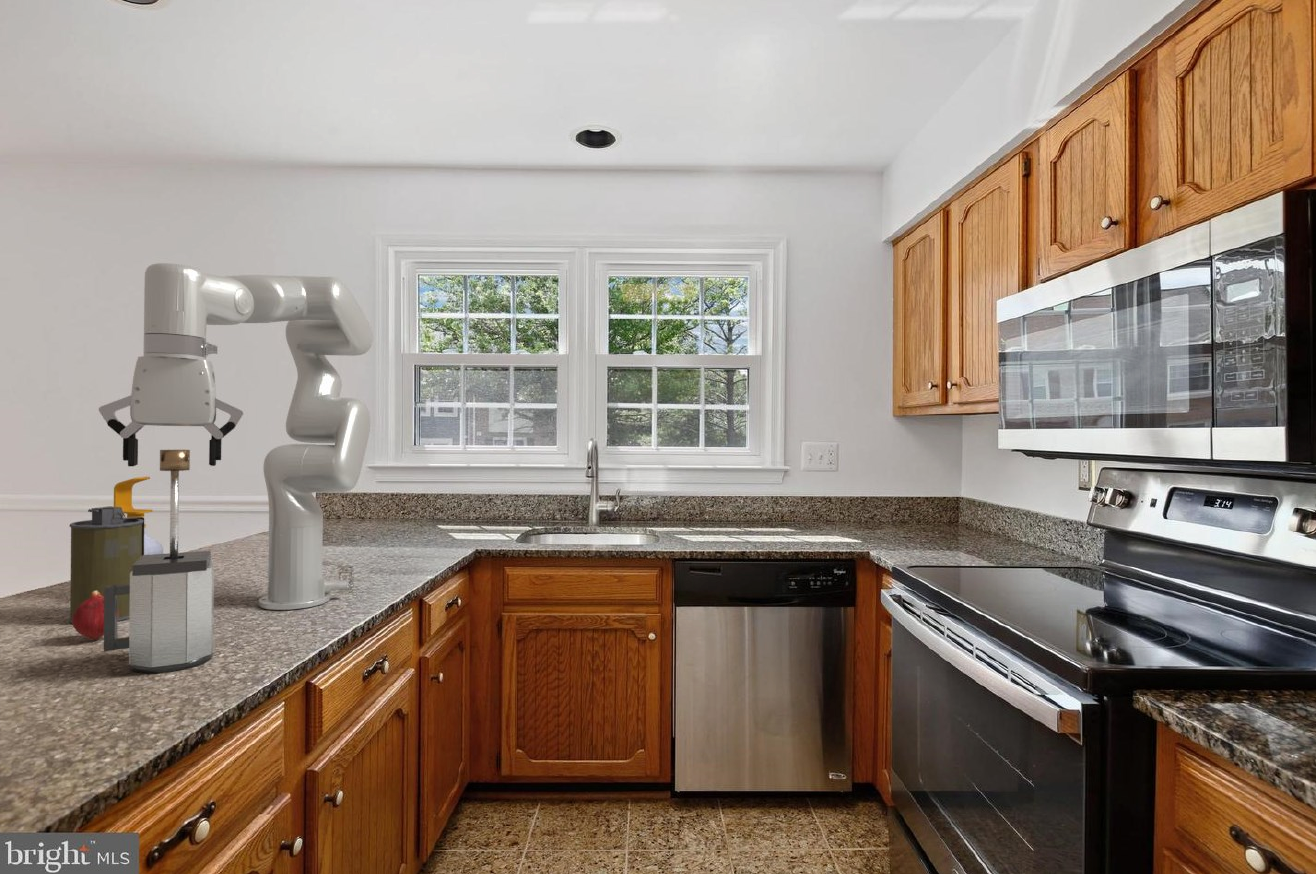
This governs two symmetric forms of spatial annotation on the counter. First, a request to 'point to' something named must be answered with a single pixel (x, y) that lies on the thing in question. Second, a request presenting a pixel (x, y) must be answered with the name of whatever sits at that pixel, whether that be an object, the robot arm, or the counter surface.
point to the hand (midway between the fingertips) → (173, 465)
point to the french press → (165, 612)
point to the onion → (90, 617)
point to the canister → (104, 555)
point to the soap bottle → (135, 511)
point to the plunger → (174, 489)
